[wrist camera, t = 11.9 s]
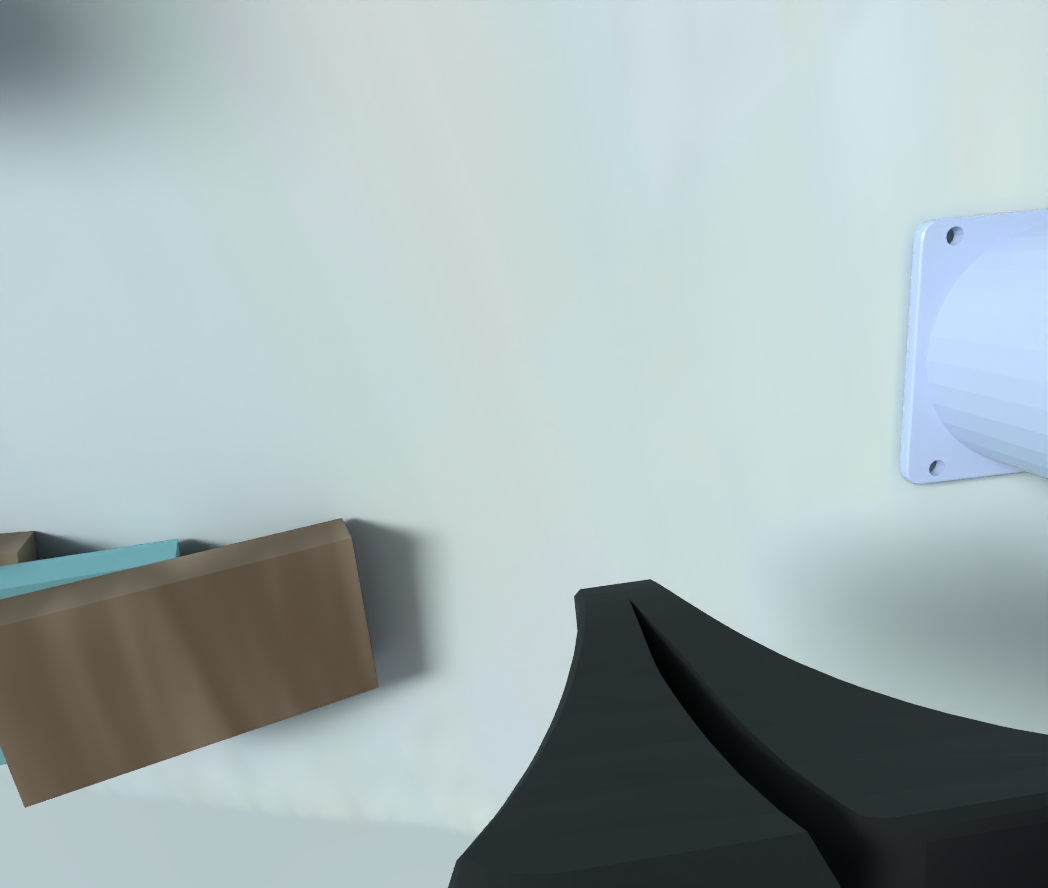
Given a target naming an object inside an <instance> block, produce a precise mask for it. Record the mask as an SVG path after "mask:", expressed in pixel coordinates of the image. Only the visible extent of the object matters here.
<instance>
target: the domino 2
mask: <svg viewBox="0 0 1048 888" xmlns="http://www.w3.org/2000/svg"><path fill="white" fill-rule="evenodd" d="M177 557H180V550H179V544H178V539H173V540H167V541H160V542H154V543H147V544H141V545H134V546H128V547H121V548H115V549H108V550H102V551H95V552H89V553H82V554H76V555H69V556H63V557H56V558H50V559H43V560H37V561H30V562H24V563H17V564H11V565H4V566H0V600H1V599H5V598H9V597H13V596H17V595H21V594H26V593H30V592H34V591H38V590H42V589H47V588H51V587H55V586H59V585H63V584H68V583H72V582H76V581H80V580H84V579H89V578H93V577H97V576H101V575H105V574H109V573H114V572H118V571H122V570H126V569H130V568H135V567H139V566H143V565H147V564H151V563H156V562H160V561H164V560H168V559H172V558H177ZM3 764H7V762H6V760H5V757H4V755H3V752H2V750H1V747H0V765H3Z"/></svg>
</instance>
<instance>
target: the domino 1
mask: <svg viewBox="0 0 1048 888" xmlns="http://www.w3.org/2000/svg"><path fill="white" fill-rule="evenodd" d="M37 560H38V554H37V547H36V540H35V533H34V531H29V532H17V533H4V534H0V566H4V565H11V564H17V563H24V562H30V561H37Z"/></svg>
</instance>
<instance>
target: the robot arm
mask: <svg viewBox="0 0 1048 888" xmlns="http://www.w3.org/2000/svg"><path fill="white" fill-rule="evenodd" d="M950 229H952V230H953V232H954V238H953V241H952V242H951V243H950V244H949V243H948V242H947V239H946V236H947V232H948V231H949V230H950ZM933 461H936V466H935V468H934V469H933V470H932V471H930V472H929V467H930V465H931V464H932V462H933ZM1019 472H1030V473H1033V474H1036V475H1038V476H1041V477H1044V478H1047V479H1048V209H1043V210H1032V211H1021V212H1011V213H1000V214H989V215H979V216H968V217H957V218H947V219H937V220H930V221H927V222H924V223H923V224H922V225H921V226H919V228H918V229H917V231H916V233H915V237H914V244H913V260H912V276H911V292H910V309H909V325H908V341H907V357H906V373H905V389H904V405H903V422H902V438H901V454H900V474H901V476H902V477H903V478H904V479H905V480H907V481H909V482H911V483H913V484H927V483H935V482H943V481H952V480H960V479H968V478H977V477H985V476H994V475H1002V474H1010V473H1019ZM574 599H575V609H576V619H577V630H578V632H577V638H576V645H575V651H574V656H573V660H572V664H571V668H570V671H569V675H568V679H567V682H566V686H565V689H564V692H563V695H562V698H561V700H560V703H559V706H558V708H557V711H556V713H555V716H554V718H553V720H552V723H551V725H550V727H549V729H548V731H547V733H546V735H545V737H544V739H543V741H542V743H541V745H540V747H539V749H538V751H537V753H536V755H535V757H534V758H533V760H532V762H531V764H530V765H529V767H528V769H527V770H526V772H525V773H524V775H523V776H522V778H521V779H520V781H519V782H518V784H517V785H516V787H515V788H514V790H513V791H512V793H511V794H510V796H509V797H508V799H507V800H506V802H505V803H504V805H503V806H502V807H501V809H500V810H499V811H498V813H497V814H496V815H495V817H494V818H493V819H492V820H491V821H490V823H489V824H488V825H487V826H486V827H485V828H484V830H483V831H482V832H481V833H480V834H479V835H478V837H477V838H476V839H475V840H474V841H473V842H472V844H471V845H470V846H469V847H468V848H467V850H466V851H465V852H464V853H463V855H461V856H460V857H459V859H458V860H457V861H456V864H455V867H454V871H453V873H452V877H451V880H450V883H449V887H448V888H1048V735H1046V734H1040V733H1035V732H1029V731H1023V730H1017V729H1012V728H1007V727H1003V726H998V725H994V724H990V723H986V722H981V721H977V720H973V719H969V718H964V717H960V716H956V715H952V714H948V713H944V712H940V711H937V710H933V709H929V708H926V707H922V706H918V705H915V704H911V703H908V702H905V701H902V700H899V699H895V698H892V697H889V696H886V695H883V694H880V693H877V692H874V691H871V690H867V689H864V688H861V687H859V686H856V685H853V684H850V683H848V682H845V681H842V680H839V679H837V678H834V677H832V676H830V675H827V674H825V673H822V672H820V671H817V670H815V669H813V668H810V667H808V666H805V665H803V664H800V663H798V662H796V661H794V660H792V659H789V658H787V657H785V656H783V655H781V654H779V653H777V652H775V651H773V650H771V649H769V648H767V647H765V646H763V645H761V644H759V643H757V642H755V641H753V640H751V639H749V638H747V637H745V636H744V635H742V634H740V633H738V632H736V631H735V630H733V629H731V628H729V627H728V626H726V625H724V624H722V623H721V622H719V621H717V620H716V619H714V618H712V617H711V616H709V615H707V614H706V613H704V612H702V611H701V610H699V609H698V608H696V607H694V606H693V605H691V604H690V603H688V602H686V601H685V600H683V599H682V598H680V597H679V596H677V595H675V594H674V593H672V592H671V591H669V590H668V589H666V588H664V587H663V586H661V585H660V584H658V583H656V582H654V581H653V580H651V579H649V580H642V581H635V582H628V583H621V584H614V585H607V586H600V587H593V588H586V589H580V590H579V591H578V593H577V594H576V595H575V596H574Z"/></svg>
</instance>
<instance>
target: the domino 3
mask: <svg viewBox="0 0 1048 888" xmlns="http://www.w3.org/2000/svg"><path fill="white" fill-rule="evenodd" d="M377 687H378V682H377V677H376V671H375V665H374V660H373V654H372V649H371V643H370V637H369V632H368V626H367V621H366V615H365V609H364V604H363V598H362V593H361V587H360V581H359V576H358V570H357V565H356V559H355V553H354V548H353V542H352V537H351V535H350V533H349V531H348V529H347V527H346V525H345V523H344V521H343V519H342V518H340V519H336V520H332V521H328V522H323V523H319V524H315V525H311V526H307V527H302V528H298V529H294V530H290V531H286V532H281V533H277V534H273V535H269V536H265V537H260V538H256V539H252V540H248V541H244V542H239V543H235V544H231V545H227V546H223V547H218V548H214V549H210V550H206V551H202V552H198V553H193V554H189V555H185V556H181V557H177V558H172V559H168V560H164V561H160V562H156V563H151V564H147V565H143V566H139V567H135V568H130V569H126V570H122V571H118V572H114V573H109V574H105V575H101V576H97V577H93V578H89V579H84V580H80V581H76V582H72V583H68V584H63V585H59V586H55V587H51V588H47V589H42V590H38V591H34V592H30V593H26V594H21V595H17V596H13V597H9V598H5V599H1V600H0V747H1V750H2V752H3V755H4V757H5V760H6V762H7V765H8V767H9V770H10V772H11V775H12V777H13V780H14V782H15V784H16V787H17V789H18V792H19V794H20V797H21V799H22V802H23V804H24V807H28V806H31V805H34V804H37V803H40V802H43V801H46V800H49V799H52V798H55V797H58V796H61V795H63V794H66V793H69V792H72V791H75V790H78V789H81V788H84V787H87V786H90V785H93V784H96V783H99V782H102V781H105V780H107V779H110V778H113V777H116V776H119V775H122V774H125V773H128V772H131V771H134V770H137V769H140V768H143V767H146V766H149V765H151V764H154V763H157V762H160V761H163V760H166V759H169V758H172V757H175V756H178V755H181V754H184V753H187V752H190V751H193V750H195V749H198V748H201V747H204V746H207V745H210V744H213V743H216V742H219V741H222V740H225V739H228V738H231V737H234V736H237V735H239V734H242V733H245V732H248V731H251V730H254V729H257V728H260V727H263V726H266V725H269V724H272V723H275V722H278V721H280V720H283V719H286V718H289V717H292V716H295V715H298V714H301V713H304V712H307V711H310V710H313V709H316V708H319V707H322V706H324V705H327V704H330V703H333V702H336V701H339V700H342V699H345V698H348V697H351V696H354V695H357V694H360V693H363V692H366V691H368V690H371V689H374V688H377Z"/></svg>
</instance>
